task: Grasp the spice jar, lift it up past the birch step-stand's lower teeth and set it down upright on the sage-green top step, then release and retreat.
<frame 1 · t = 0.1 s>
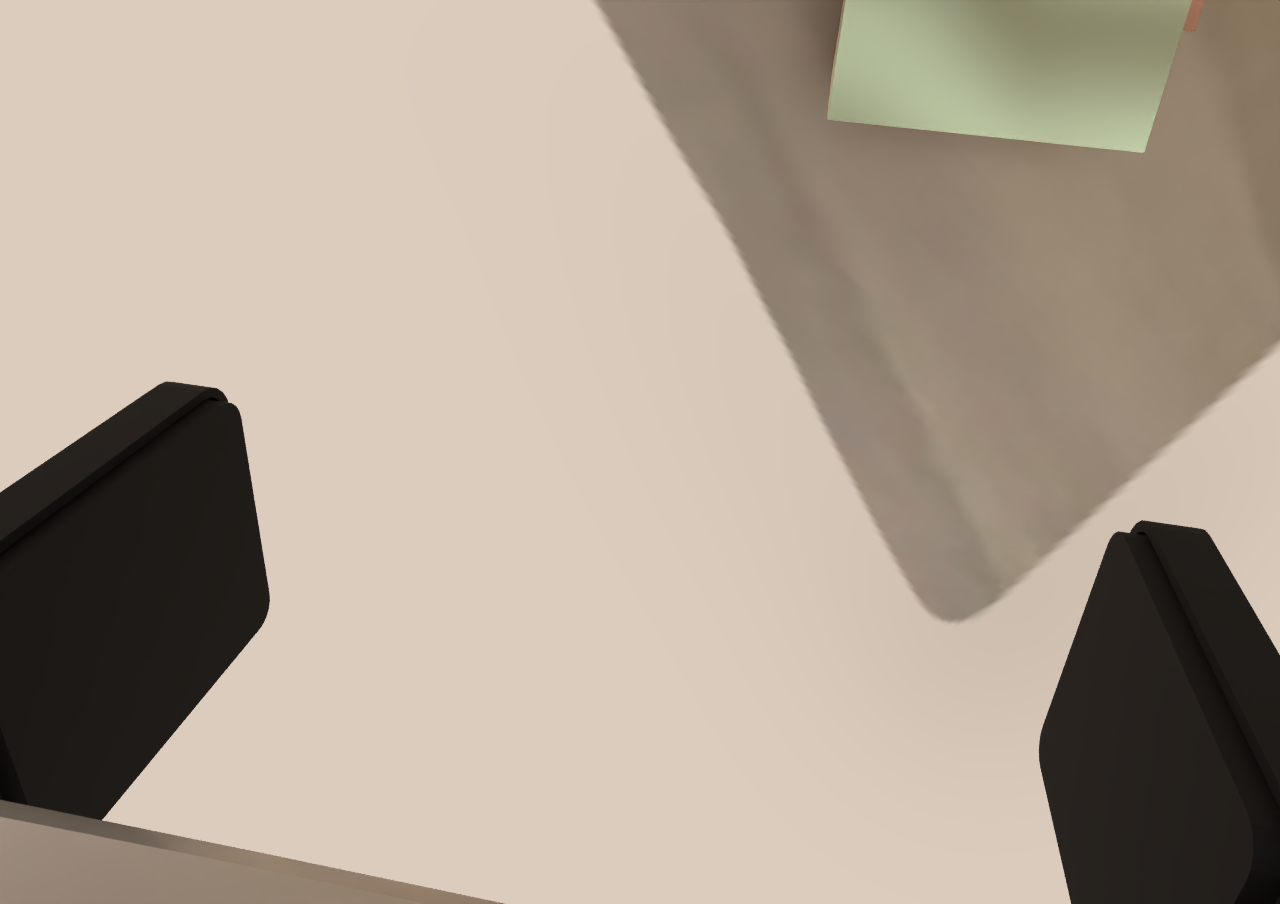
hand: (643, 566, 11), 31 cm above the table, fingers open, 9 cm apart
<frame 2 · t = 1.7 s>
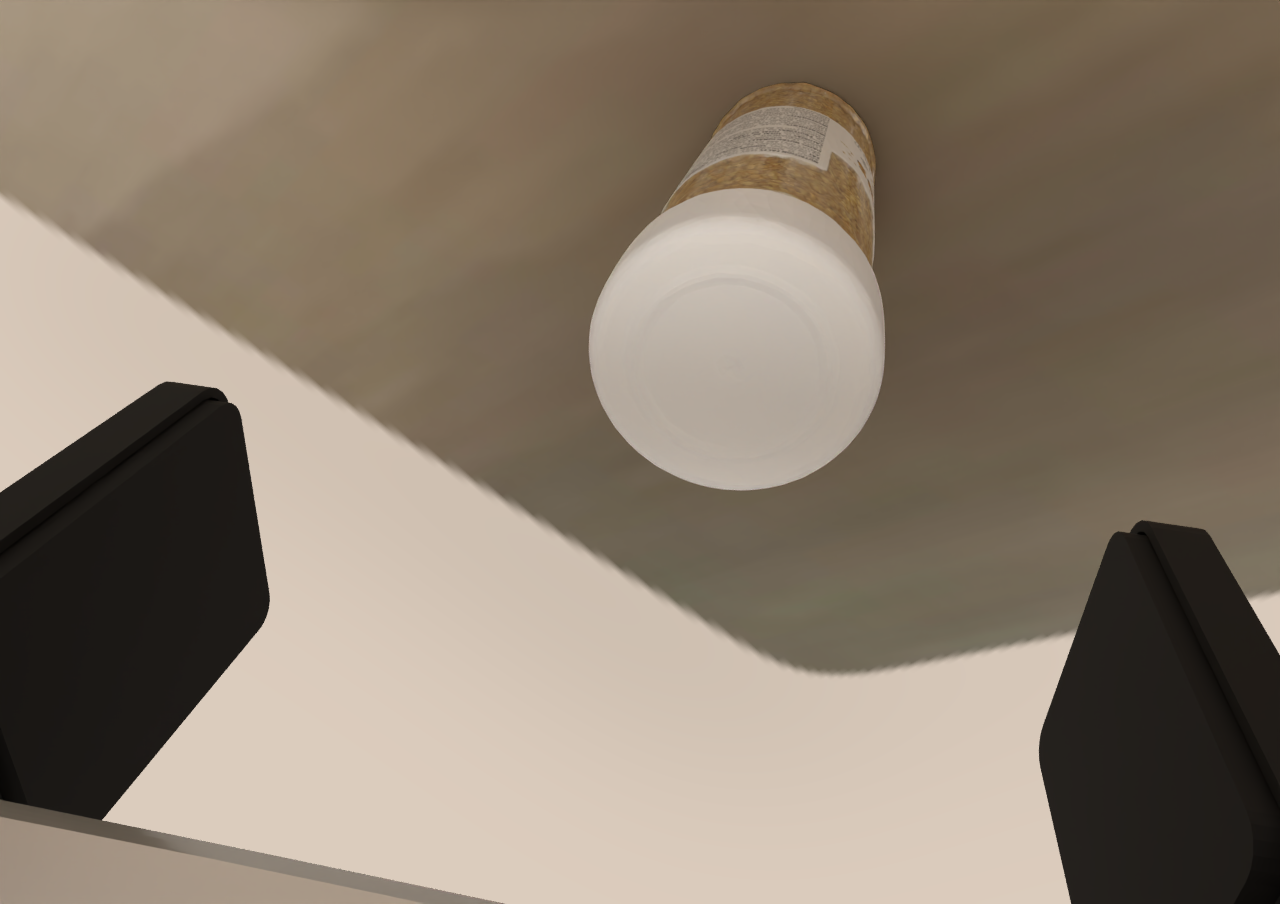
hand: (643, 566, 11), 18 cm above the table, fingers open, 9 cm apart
spice jar: (789, 165, 26), on the table
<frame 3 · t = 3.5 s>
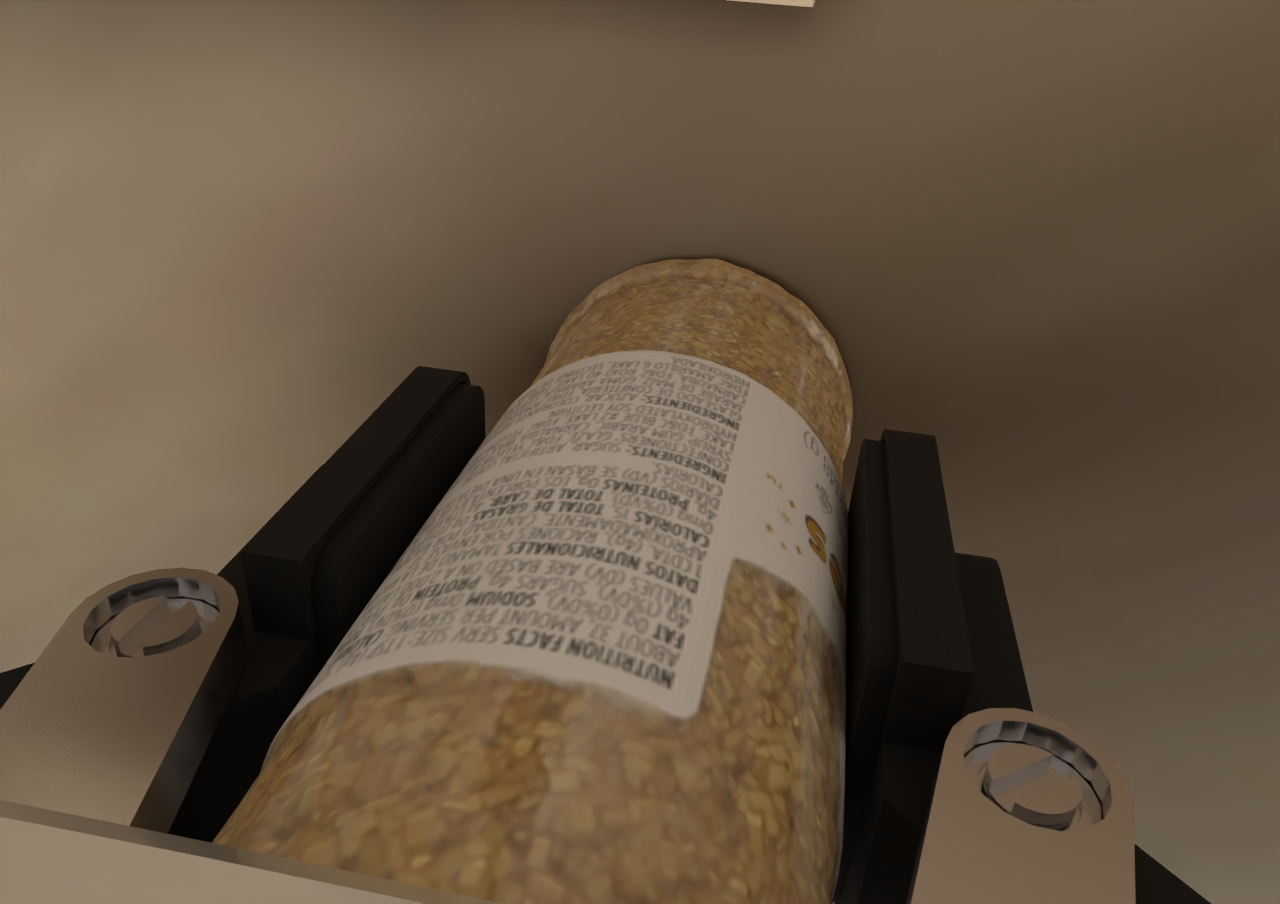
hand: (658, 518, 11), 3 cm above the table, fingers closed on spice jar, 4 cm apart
spice jar: (697, 390, 14), on the table, touching gripper
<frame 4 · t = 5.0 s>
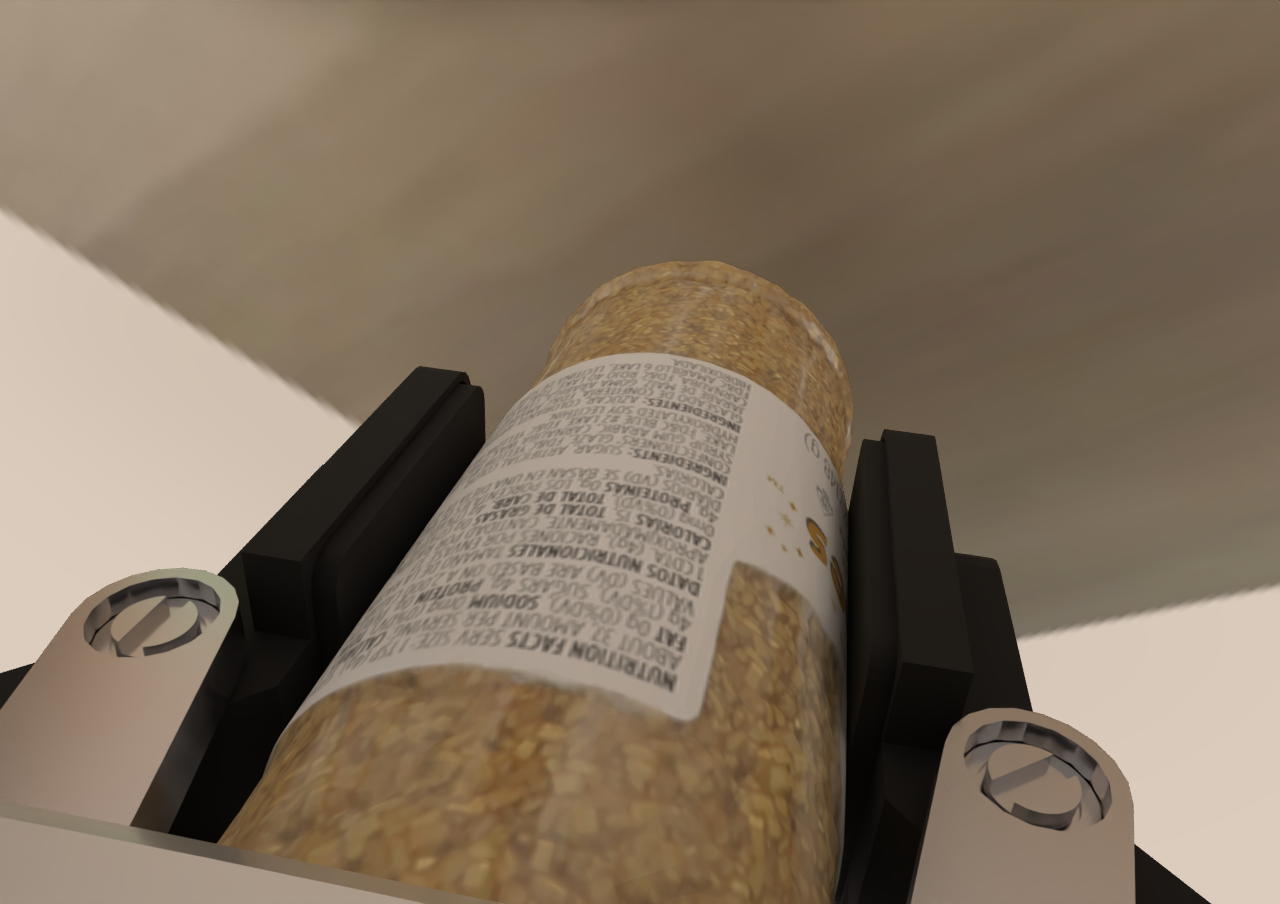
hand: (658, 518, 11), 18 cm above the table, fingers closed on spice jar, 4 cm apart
spice jar: (698, 392, 14), point 15 cm above the table, touching gripper
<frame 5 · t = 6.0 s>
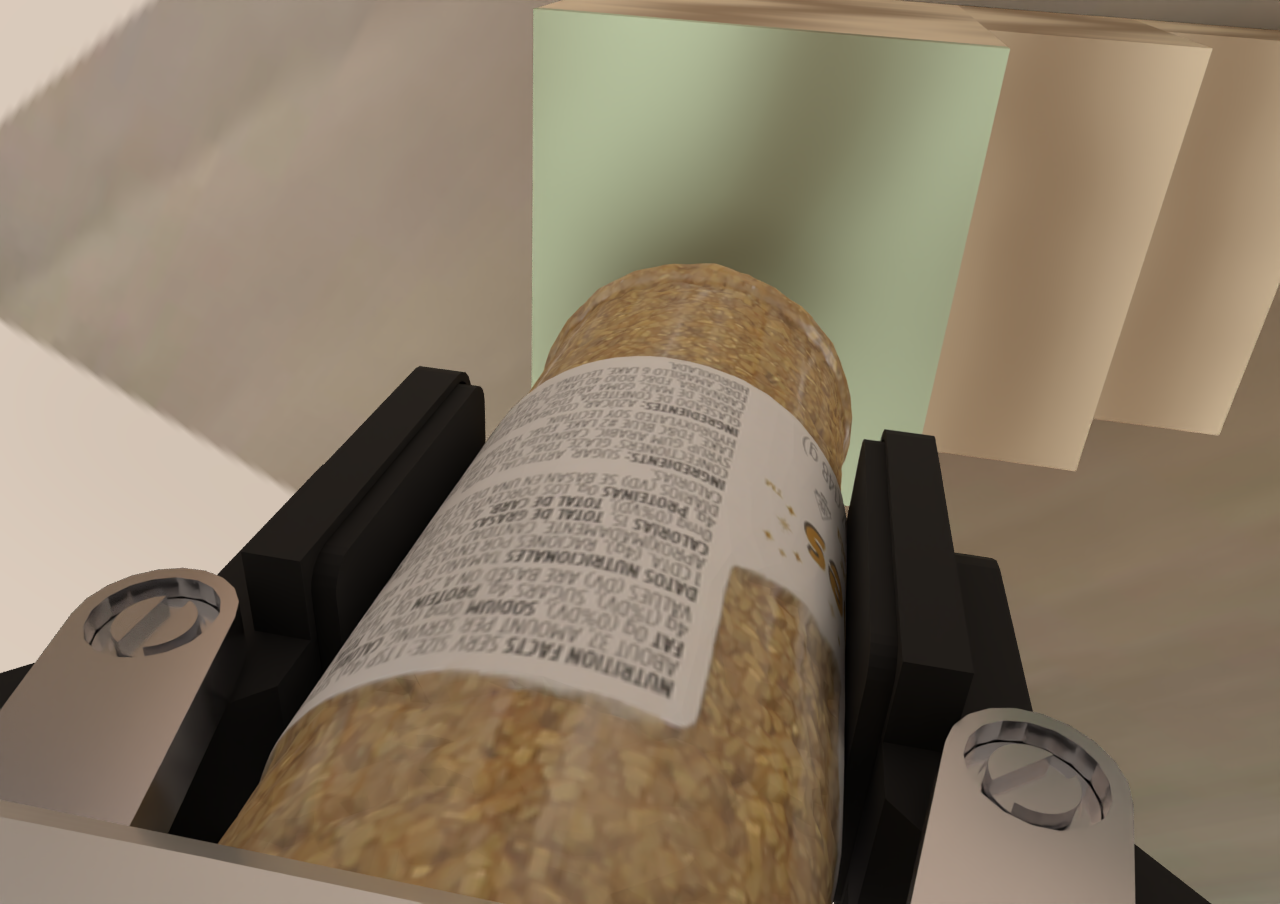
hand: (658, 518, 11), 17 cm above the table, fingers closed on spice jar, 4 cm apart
spice jar: (696, 394, 14), point 14 cm above the table, touching gripper
step stand: (769, 175, 26), on the table
when the fingers open (14 cm above the table, at t = 6.8 s): spice jar drops 1 cm, resting on step stand.
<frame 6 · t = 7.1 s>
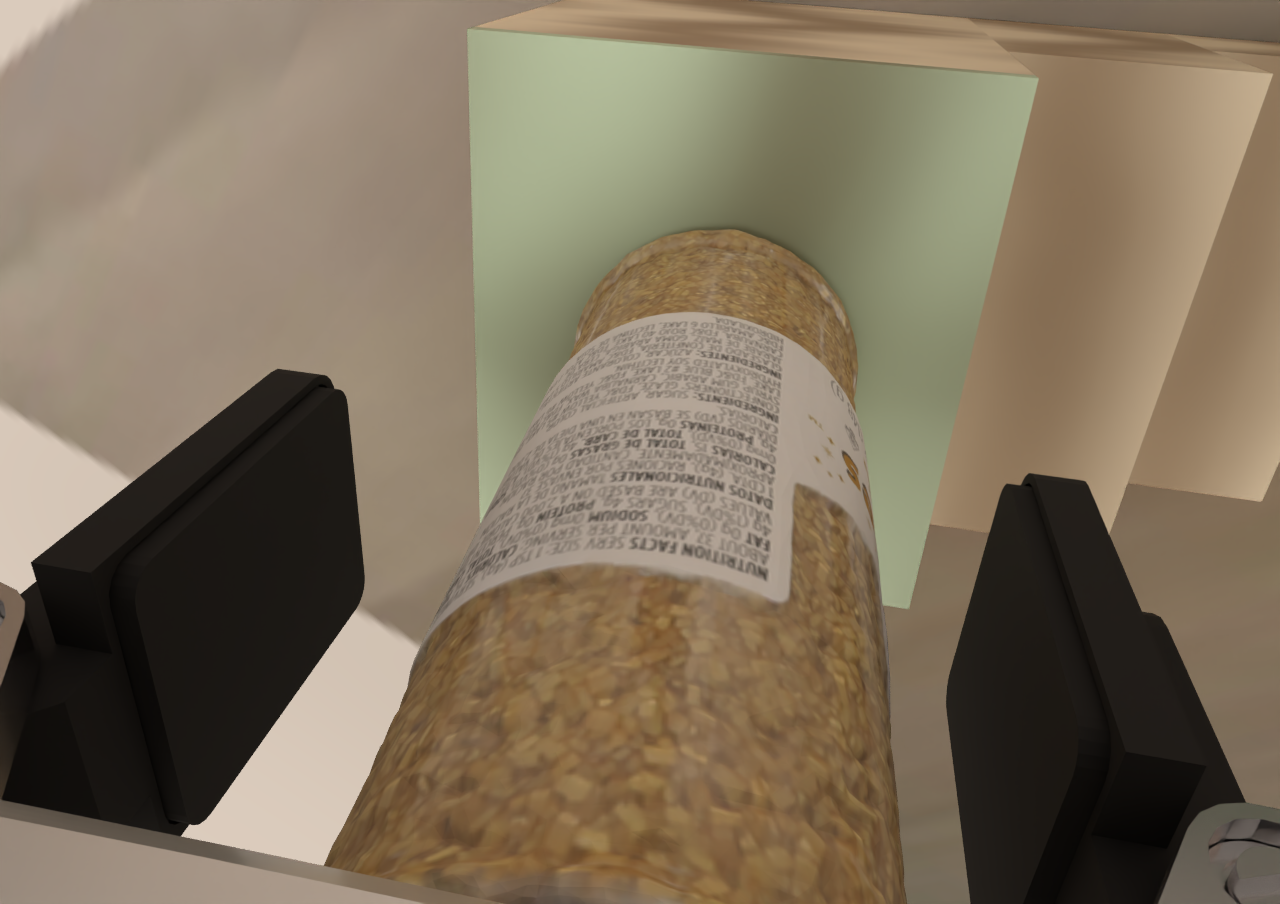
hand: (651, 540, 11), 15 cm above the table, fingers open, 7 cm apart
spice jar: (714, 350, 16), point 9 cm above the table, touching step stand
step stand: (756, 207, 24), on the table
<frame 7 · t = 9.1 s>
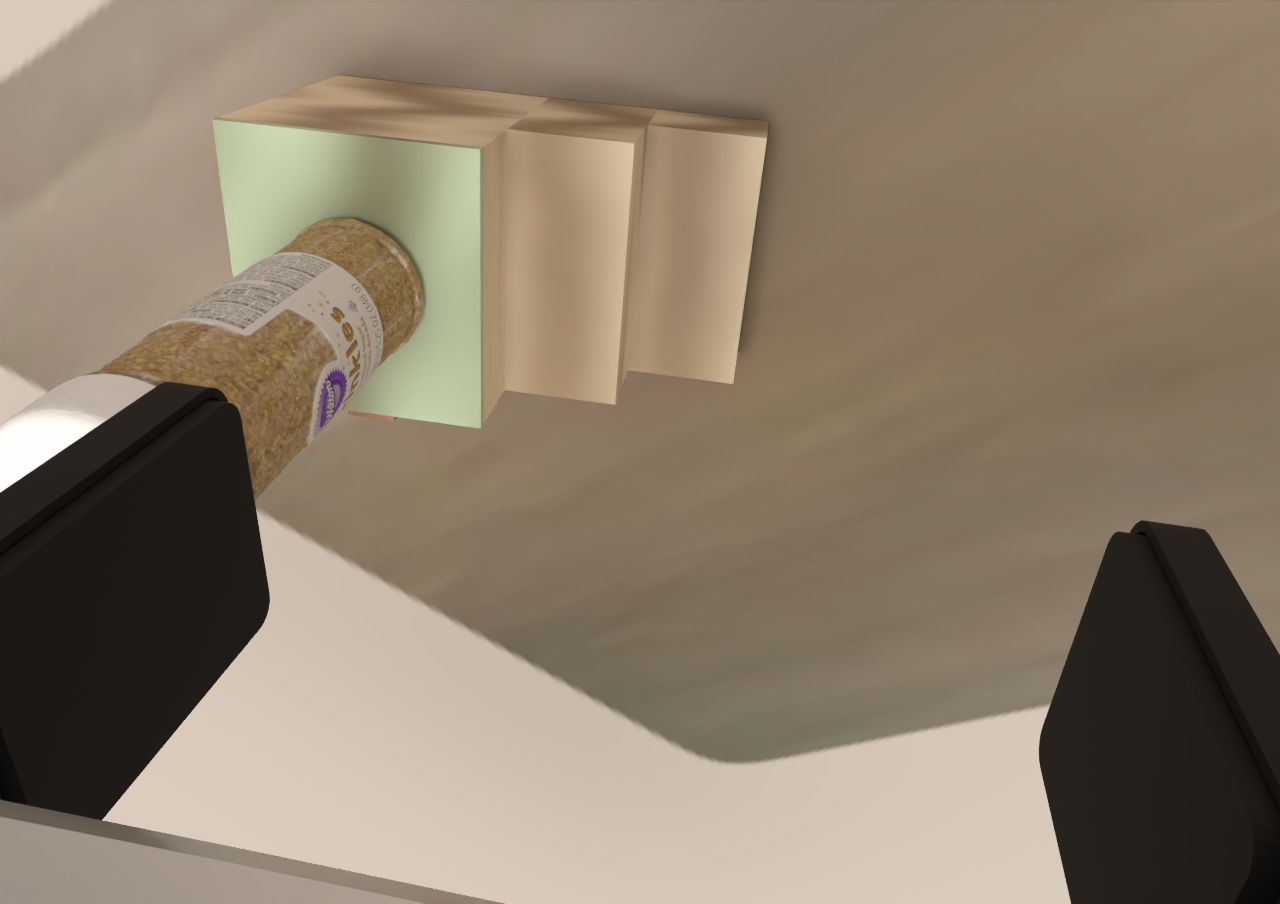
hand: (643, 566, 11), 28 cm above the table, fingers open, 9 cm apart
spice jar: (358, 282, 30), point 9 cm above the table, touching step stand
step stand: (445, 207, 38), on the table
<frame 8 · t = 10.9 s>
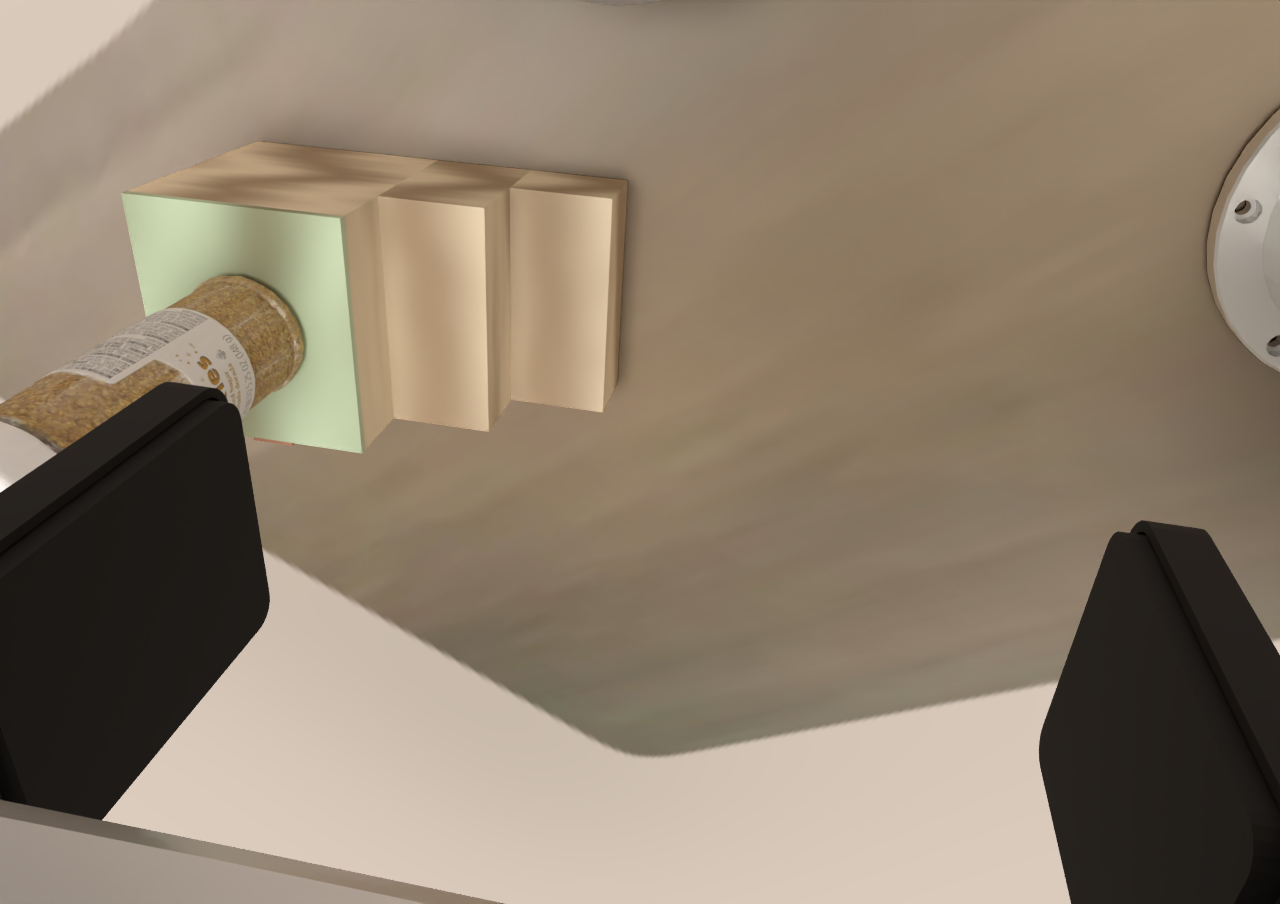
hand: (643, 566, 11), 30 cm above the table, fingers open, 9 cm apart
spice jar: (251, 328, 35), point 9 cm above the table, touching step stand
step stand: (355, 254, 43), on the table
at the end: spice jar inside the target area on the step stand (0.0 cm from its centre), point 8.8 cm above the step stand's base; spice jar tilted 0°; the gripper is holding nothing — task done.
